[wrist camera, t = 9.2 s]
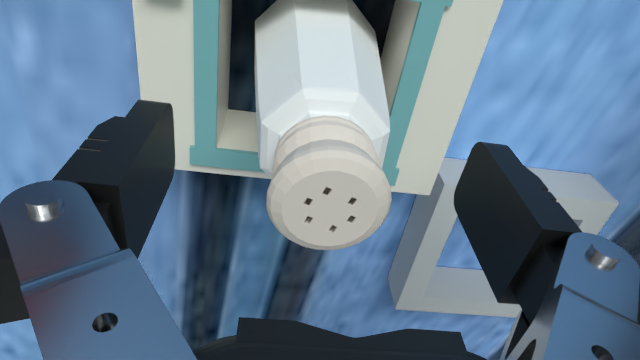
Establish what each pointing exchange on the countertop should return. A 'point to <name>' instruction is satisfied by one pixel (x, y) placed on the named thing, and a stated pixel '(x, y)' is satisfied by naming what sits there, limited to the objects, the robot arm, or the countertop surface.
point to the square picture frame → (468, 284)
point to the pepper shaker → (321, 122)
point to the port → (241, 126)
